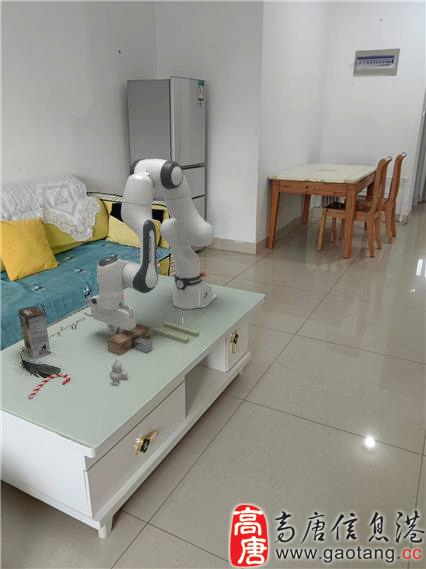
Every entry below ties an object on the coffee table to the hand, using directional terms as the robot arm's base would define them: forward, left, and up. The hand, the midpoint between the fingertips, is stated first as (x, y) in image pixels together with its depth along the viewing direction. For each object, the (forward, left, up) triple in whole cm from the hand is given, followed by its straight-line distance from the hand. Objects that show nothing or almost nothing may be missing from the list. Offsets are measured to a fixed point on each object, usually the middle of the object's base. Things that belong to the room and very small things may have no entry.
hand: (114, 334), depth 164 cm
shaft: (0, +9, -2) cm, 10 cm away
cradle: (-16, +17, -3) cm, 23 cm away
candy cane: (+33, +5, -4) cm, 34 cm away
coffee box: (+21, -18, -3) cm, 28 cm away
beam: (0, +8, -3) cm, 8 cm away
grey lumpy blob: (+18, +21, -3) cm, 28 cm away
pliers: (-16, -22, -4) cm, 28 cm away
